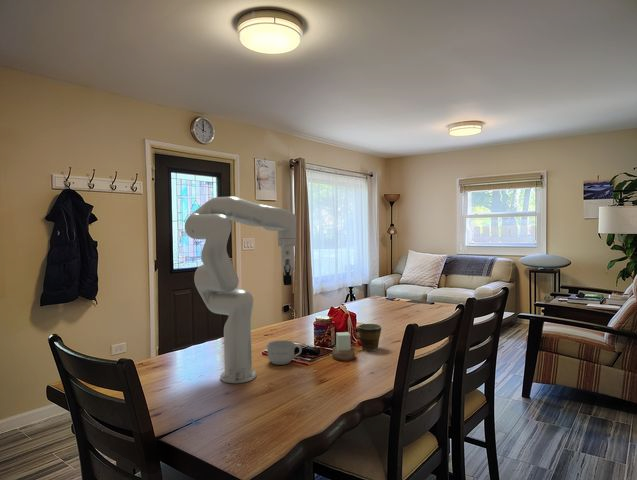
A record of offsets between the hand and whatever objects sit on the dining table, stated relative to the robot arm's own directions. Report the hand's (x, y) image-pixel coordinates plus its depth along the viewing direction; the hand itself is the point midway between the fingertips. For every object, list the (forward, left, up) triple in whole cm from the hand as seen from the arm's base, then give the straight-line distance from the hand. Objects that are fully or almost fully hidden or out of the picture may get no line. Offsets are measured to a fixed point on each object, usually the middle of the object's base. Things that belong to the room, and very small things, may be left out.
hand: (287, 283), depth 177 cm
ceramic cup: (0, -34, -30) cm, 45 cm away
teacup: (-12, +2, -30) cm, 32 cm away
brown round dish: (-9, -22, -30) cm, 38 cm away
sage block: (-9, -22, -26) cm, 35 cm away
